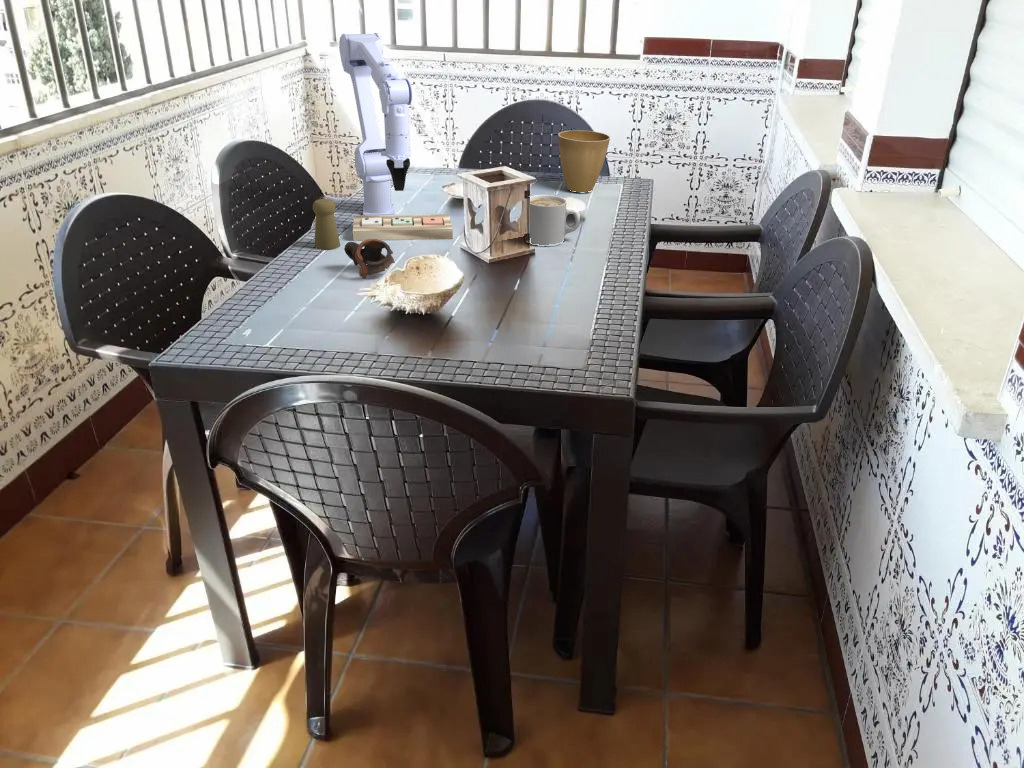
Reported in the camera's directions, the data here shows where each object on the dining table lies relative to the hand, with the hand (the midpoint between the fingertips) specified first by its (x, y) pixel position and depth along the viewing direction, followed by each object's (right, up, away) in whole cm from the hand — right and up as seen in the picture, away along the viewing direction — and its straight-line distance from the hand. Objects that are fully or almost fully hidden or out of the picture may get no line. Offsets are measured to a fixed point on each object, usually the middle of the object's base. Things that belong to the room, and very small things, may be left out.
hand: (399, 190), depth 200 cm
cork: (-16, -15, -6) cm, 23 cm away
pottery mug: (-4, -23, -19) cm, 30 cm away
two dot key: (-7, -11, +4) cm, 13 cm away
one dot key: (+8, -10, +6) cm, 14 cm away
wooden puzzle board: (0, -9, +4) cm, 10 cm away
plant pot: (+48, +10, +42) cm, 64 cm away
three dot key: (0, -10, +5) cm, 11 cm away
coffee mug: (+37, -12, +2) cm, 39 cm away
